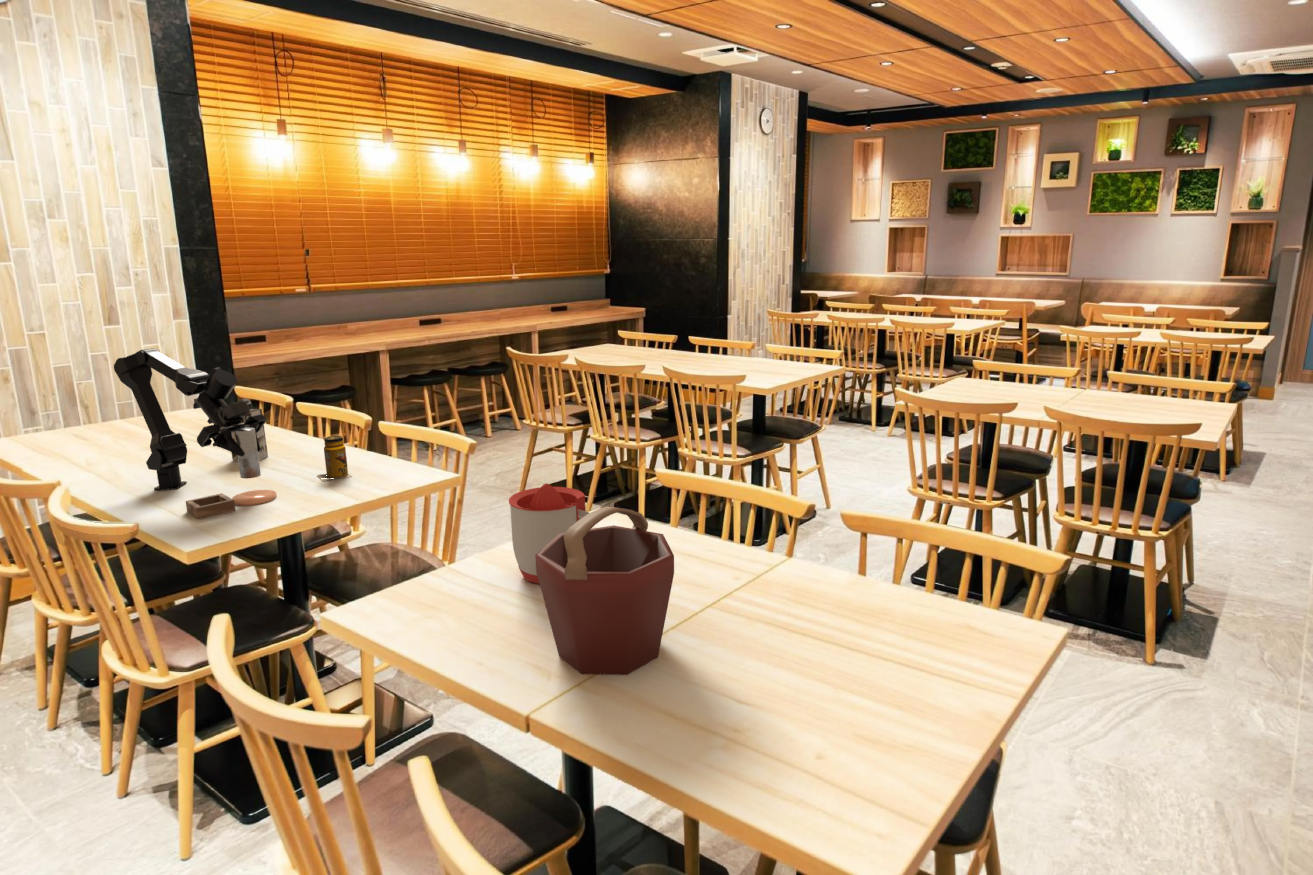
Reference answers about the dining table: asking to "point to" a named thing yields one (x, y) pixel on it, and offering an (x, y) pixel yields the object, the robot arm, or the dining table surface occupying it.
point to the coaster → (254, 497)
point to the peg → (248, 453)
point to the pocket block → (210, 506)
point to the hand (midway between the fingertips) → (251, 453)
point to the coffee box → (260, 436)
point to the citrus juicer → (541, 521)
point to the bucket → (606, 593)
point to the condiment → (335, 458)
